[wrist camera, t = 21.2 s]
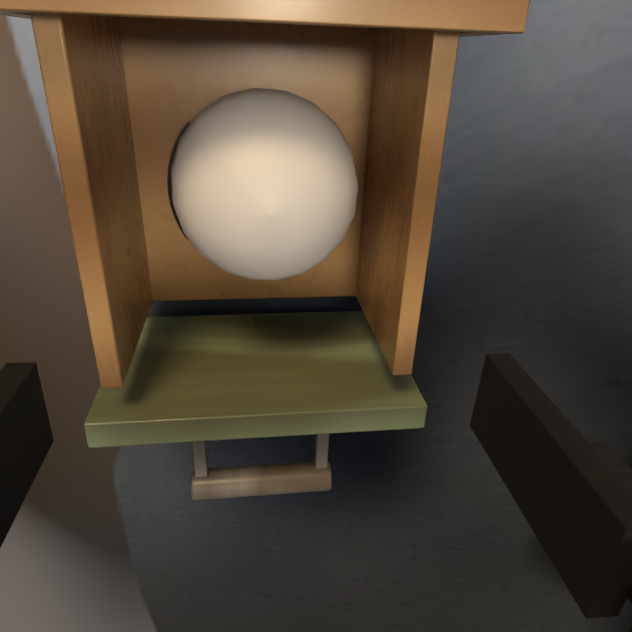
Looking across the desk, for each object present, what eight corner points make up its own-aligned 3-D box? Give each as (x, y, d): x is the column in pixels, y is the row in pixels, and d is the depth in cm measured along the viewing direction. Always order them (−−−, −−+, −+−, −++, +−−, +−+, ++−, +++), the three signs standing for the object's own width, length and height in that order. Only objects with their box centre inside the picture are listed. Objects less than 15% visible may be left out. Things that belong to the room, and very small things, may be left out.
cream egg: (198, 56, 21) (179, 58, 15) (363, 114, 23) (411, 139, 17) (152, 273, 25) (122, 350, 19) (297, 307, 27) (315, 388, 21)
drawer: (367, 416, 33) (407, 533, 25) (144, 429, 31) (111, 559, 23) (409, -12, 22) (502, -45, 14) (76, -30, 20) (-28, -80, 12)
